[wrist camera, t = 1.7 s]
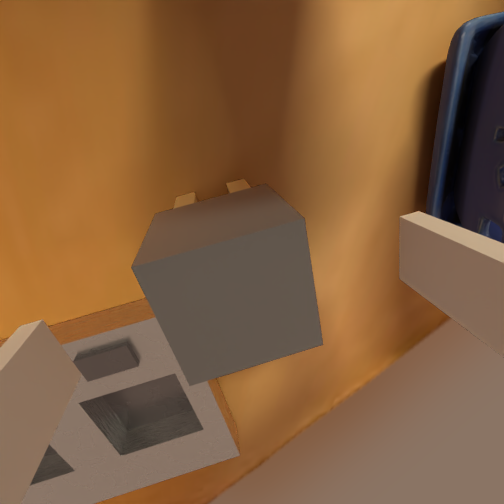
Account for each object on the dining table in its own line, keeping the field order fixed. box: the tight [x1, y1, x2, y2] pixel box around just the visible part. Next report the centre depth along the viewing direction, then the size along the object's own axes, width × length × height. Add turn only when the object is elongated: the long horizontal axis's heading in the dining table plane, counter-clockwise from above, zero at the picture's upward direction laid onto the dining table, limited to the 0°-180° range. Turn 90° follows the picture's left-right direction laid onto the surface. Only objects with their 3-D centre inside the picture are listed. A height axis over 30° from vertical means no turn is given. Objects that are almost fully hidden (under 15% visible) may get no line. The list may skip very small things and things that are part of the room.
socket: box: [0, 298, 240, 504], centre depth 21 cm, size 16×20×3 cm
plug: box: [131, 179, 323, 386], centre depth 13 cm, size 5×5×10 cm
